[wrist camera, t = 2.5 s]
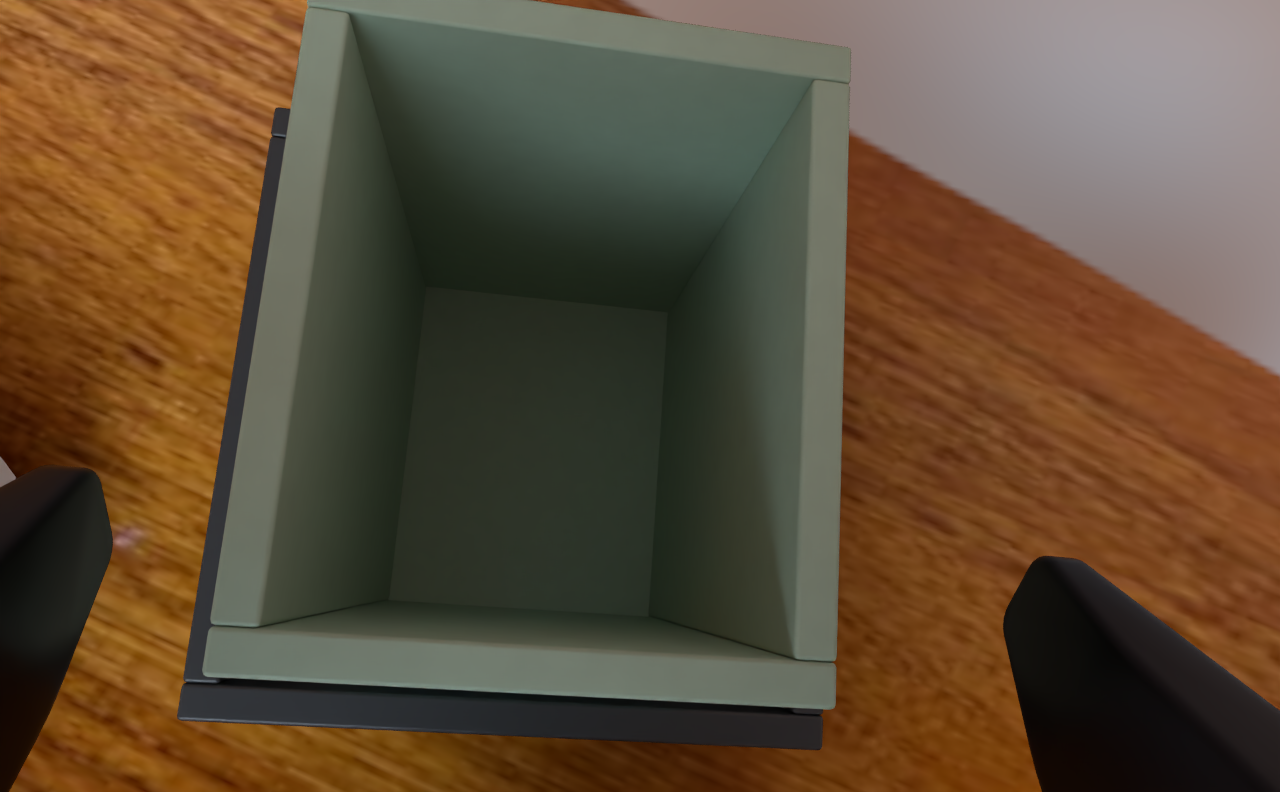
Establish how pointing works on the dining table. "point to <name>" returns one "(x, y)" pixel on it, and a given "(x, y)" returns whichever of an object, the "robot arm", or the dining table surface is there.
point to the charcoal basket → (425, 705)
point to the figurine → (5, 473)
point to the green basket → (546, 362)
